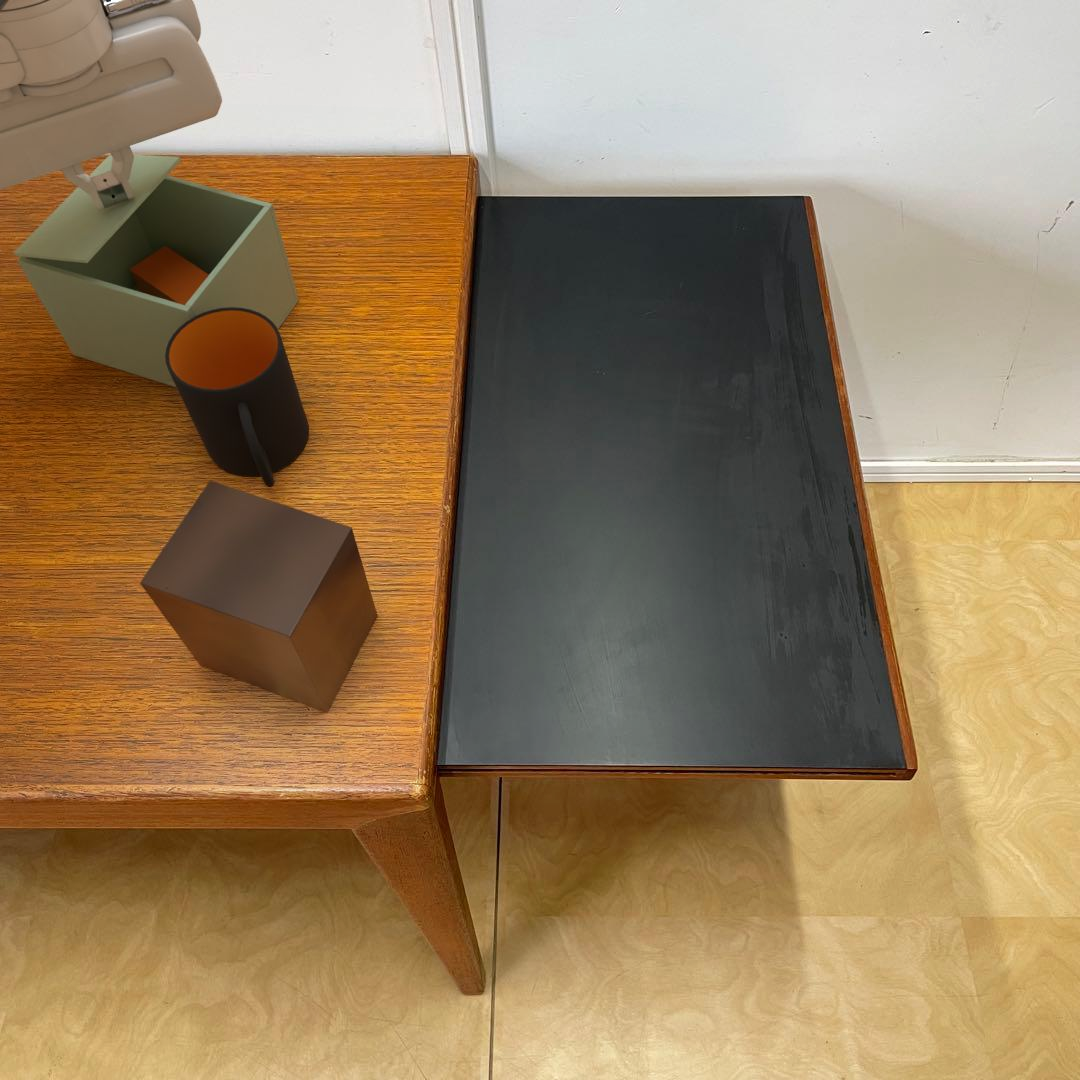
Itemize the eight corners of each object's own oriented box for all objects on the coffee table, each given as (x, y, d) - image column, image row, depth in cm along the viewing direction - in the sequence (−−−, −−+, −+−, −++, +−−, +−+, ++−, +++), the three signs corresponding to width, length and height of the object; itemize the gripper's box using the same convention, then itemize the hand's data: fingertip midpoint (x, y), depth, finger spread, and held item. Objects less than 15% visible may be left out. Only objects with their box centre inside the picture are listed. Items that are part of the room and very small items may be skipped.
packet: (189, 311, 78) (200, 336, 80) (225, 285, 79) (234, 310, 82) (128, 269, 80) (140, 295, 83) (165, 245, 82) (175, 271, 84)
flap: (15, 255, 70) (12, 252, 70) (112, 156, 77) (110, 153, 76) (87, 263, 68) (84, 260, 67) (181, 160, 74) (179, 156, 74)
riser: (199, 665, 65) (139, 582, 54) (256, 572, 69) (209, 479, 58) (327, 713, 63) (289, 637, 53) (378, 615, 67) (352, 527, 57)
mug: (226, 527, 71) (184, 444, 62) (198, 413, 76) (155, 323, 68) (332, 495, 72) (305, 411, 63) (296, 386, 78) (267, 295, 69)
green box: (73, 355, 79) (16, 260, 71) (156, 258, 86) (113, 160, 77) (225, 403, 77) (186, 311, 68) (299, 300, 83) (272, 203, 74)
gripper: (168, -46, 64) (223, 134, 75) (-144, 43, 58) (-31, 223, 69) (204, -3, 61) (255, 176, 73) (-120, 94, 55) (-6, 272, 67)
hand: (113, 200), depth 71 cm, fingers closed
